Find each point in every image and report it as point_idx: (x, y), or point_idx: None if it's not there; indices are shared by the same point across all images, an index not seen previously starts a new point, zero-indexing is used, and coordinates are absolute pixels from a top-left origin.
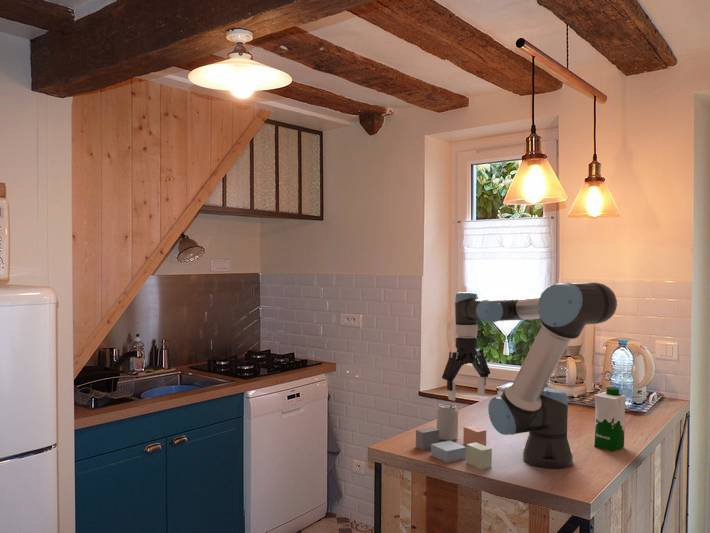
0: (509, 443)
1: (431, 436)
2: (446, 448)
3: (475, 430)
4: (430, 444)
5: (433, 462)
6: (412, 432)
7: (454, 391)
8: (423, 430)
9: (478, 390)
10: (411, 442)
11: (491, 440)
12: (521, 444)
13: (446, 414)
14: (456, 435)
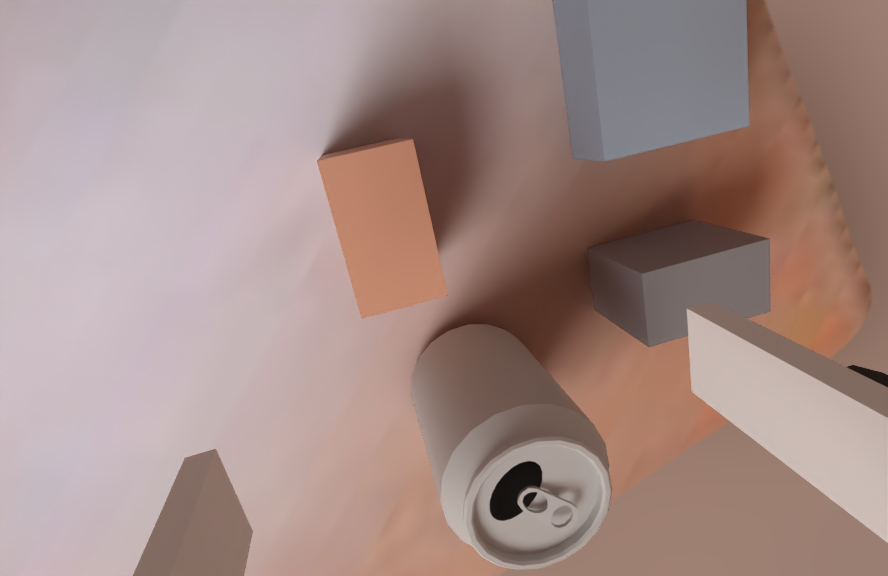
0: (107, 187)
1: (682, 249)
2: (715, 7)
3: (406, 184)
4: (661, 236)
5: (752, 9)
6: None
7: (790, 351)
8: (739, 286)
9: (237, 569)
10: (677, 356)
11: (212, 280)
12: (18, 138)
13: (569, 405)
14: (442, 343)
